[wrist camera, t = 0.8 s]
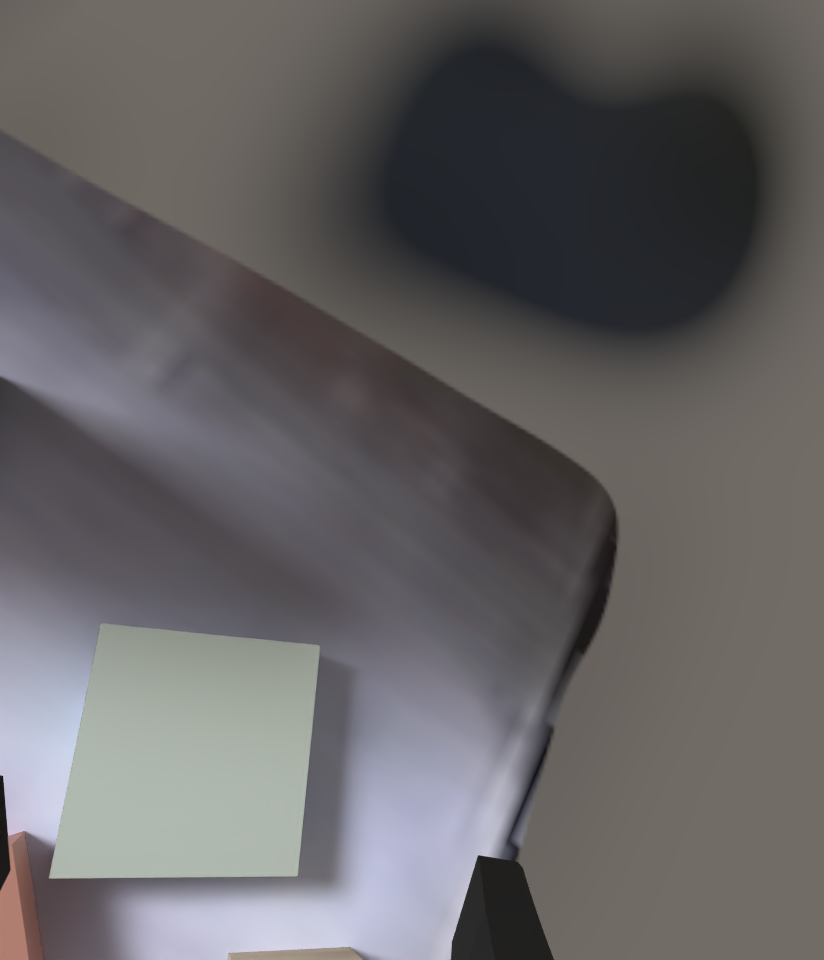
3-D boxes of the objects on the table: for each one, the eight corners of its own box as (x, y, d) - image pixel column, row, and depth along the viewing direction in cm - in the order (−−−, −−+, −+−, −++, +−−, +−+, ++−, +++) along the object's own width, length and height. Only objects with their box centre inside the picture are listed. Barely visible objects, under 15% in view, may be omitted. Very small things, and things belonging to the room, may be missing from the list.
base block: (281, 861, 24) (297, 876, 22) (55, 862, 22) (48, 878, 20) (303, 651, 26) (320, 645, 24) (102, 632, 24) (100, 623, 22)
